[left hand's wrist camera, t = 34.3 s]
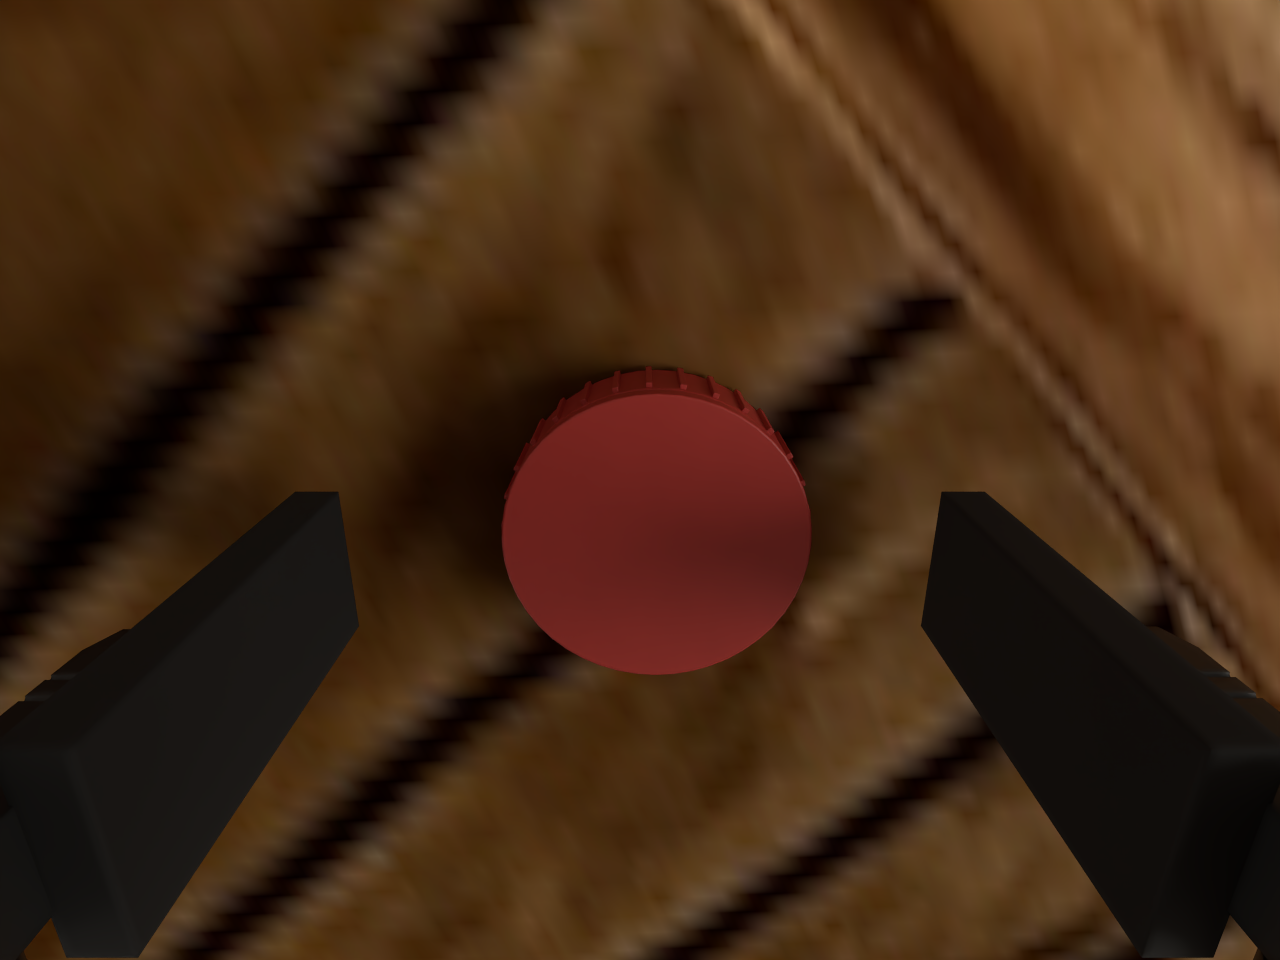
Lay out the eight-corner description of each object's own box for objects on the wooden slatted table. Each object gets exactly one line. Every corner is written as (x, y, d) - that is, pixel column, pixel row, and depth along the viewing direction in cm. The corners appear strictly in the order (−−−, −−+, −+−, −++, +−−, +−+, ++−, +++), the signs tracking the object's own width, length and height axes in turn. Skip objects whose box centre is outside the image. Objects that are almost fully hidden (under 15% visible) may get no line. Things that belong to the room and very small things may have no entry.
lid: (765, 330, 14) (782, 350, 12) (818, 592, 15) (840, 643, 14) (475, 406, 14) (451, 436, 12) (561, 650, 16) (551, 705, 14)
